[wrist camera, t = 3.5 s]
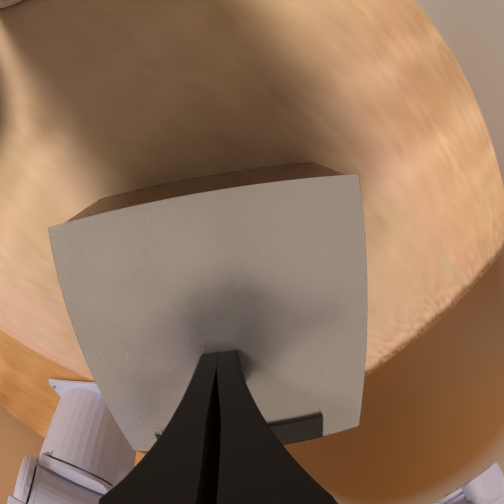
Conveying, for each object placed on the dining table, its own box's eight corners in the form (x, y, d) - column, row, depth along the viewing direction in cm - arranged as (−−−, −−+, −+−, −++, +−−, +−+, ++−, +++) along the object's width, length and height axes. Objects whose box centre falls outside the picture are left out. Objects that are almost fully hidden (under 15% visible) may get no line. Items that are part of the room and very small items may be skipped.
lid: (352, 414, 12) (359, 428, 11) (137, 438, 12) (133, 452, 11) (347, 176, 10) (360, 173, 9) (60, 225, 10) (45, 228, 8)
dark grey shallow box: (317, 333, 19) (335, 377, 15) (157, 355, 19) (147, 400, 15) (313, 162, 14) (345, 175, 10) (100, 199, 14) (63, 223, 10)
